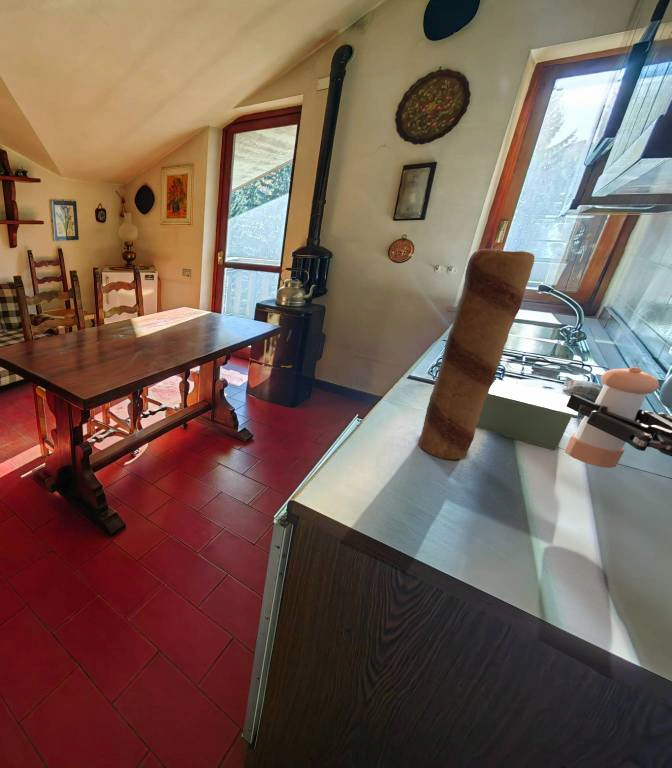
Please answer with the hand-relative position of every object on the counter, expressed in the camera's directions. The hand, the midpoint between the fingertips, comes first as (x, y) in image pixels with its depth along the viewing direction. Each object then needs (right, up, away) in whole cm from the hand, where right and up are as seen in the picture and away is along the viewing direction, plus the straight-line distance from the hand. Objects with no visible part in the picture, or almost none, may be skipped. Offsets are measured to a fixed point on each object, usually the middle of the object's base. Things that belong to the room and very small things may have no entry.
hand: (586, 401), depth 79 cm
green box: (+7, -8, +24) cm, 26 cm away
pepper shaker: (0, -11, -1) cm, 11 cm away
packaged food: (+46, -1, +44) cm, 64 cm away
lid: (+8, 0, +20) cm, 21 cm away
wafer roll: (-20, -12, +14) cm, 27 cm away
